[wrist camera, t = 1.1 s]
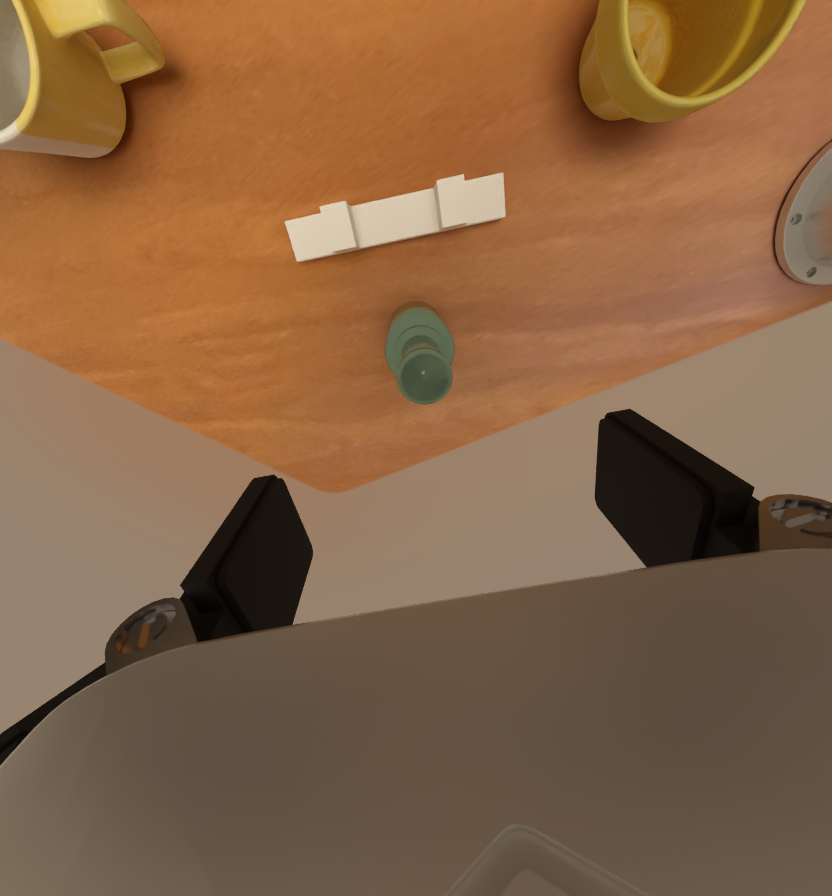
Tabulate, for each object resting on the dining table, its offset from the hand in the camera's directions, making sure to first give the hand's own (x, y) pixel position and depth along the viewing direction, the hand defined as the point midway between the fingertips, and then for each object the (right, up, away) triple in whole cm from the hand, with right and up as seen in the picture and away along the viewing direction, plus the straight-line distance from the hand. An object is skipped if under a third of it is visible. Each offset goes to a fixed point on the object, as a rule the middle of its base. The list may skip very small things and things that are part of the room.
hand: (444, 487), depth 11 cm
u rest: (-3, +21, +21) cm, 30 cm away
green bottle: (-1, +13, +25) cm, 28 cm away
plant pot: (+15, +30, +17) cm, 38 cm away
